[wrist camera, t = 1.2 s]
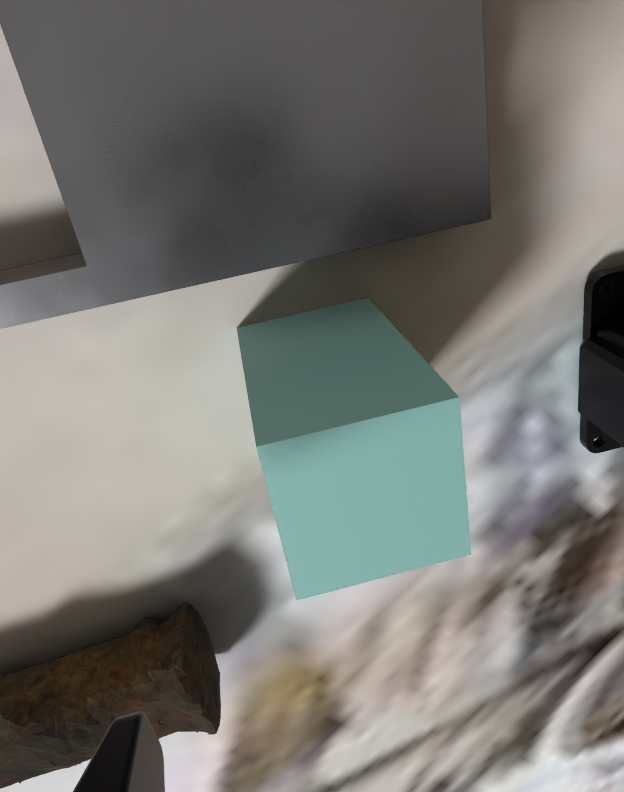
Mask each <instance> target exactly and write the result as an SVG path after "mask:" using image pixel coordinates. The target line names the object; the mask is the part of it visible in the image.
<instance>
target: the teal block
mask: <svg viewBox="0 0 624 792" xmlns="http://www.w3.org/2000/svg"><path fill="white" fill-rule="evenodd" d="M237 332H238V338H239V345H240V351H241V357H242V363H243V369H244V375H245V381H246V387H247V393H248V399H249V405H250V411H251V417H252V423H253V429H254V435H255V441H256V447H257V451H258V455H259V459H260V462H261V466H262V470H263V474H264V478H265V481H266V485H267V489H268V493H269V497H270V500H271V504H272V508H273V512H274V516H275V520H276V523H277V527H278V531H279V535H280V539H281V542H282V546H283V550H284V554H285V558H286V561H287V565H288V569H289V573H290V577H291V581H292V584H293V588H294V592H295V596H296V600H300V599H304V598H307V597H311V596H315V595H319V594H322V593H326V592H330V591H334V590H338V589H341V588H345V587H349V586H353V585H356V584H360V583H364V582H368V581H372V580H375V579H379V578H383V577H387V576H391V575H394V574H398V573H402V572H406V571H409V570H413V569H417V568H421V567H425V566H428V565H432V564H436V563H440V562H443V561H447V560H451V559H455V558H459V557H462V556H466V555H470V554H471V547H470V534H469V521H468V507H467V494H466V481H465V468H464V455H463V441H462V428H461V415H460V402H459V397H458V395H457V394H456V393H455V392H454V391H453V390H452V389H451V388H450V387H449V386H448V384H447V383H446V382H445V381H444V380H443V379H442V378H441V377H440V376H439V375H438V373H437V372H436V371H435V370H434V369H433V368H432V367H431V366H430V365H429V364H428V363H427V361H426V360H425V359H424V358H423V357H422V356H421V355H420V354H419V353H418V352H417V350H416V349H415V348H414V347H413V346H412V345H411V344H410V343H409V342H408V341H407V339H406V338H405V337H404V336H403V335H402V334H401V333H400V332H399V331H398V330H397V328H396V327H395V326H394V325H393V324H392V323H391V322H390V321H389V320H388V319H387V318H386V316H385V315H384V314H383V313H382V312H381V311H380V310H379V309H378V308H377V307H376V305H375V304H374V303H373V302H372V301H371V300H370V299H369V298H364V299H359V300H355V301H351V302H346V303H342V304H337V305H333V306H329V307H324V308H320V309H316V310H311V311H307V312H303V313H298V314H294V315H290V316H285V317H281V318H277V319H272V320H268V321H263V322H259V323H255V324H250V325H246V326H242V327H237Z"/></svg>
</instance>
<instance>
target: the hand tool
mask: <svg viewBox="0 0 624 792" xmlns="http://www.w3.org/2000/svg"><path fill="white" fill-rule="evenodd" d="M135 712H144V713H145V714H146V716H147V717H148V719H149V721H150V723H151V726H152V728H153V730H154V732H155V734H156V736H157V738H158V739H159V738H161V737H163V736H167V735H169V734H172V733H174V732H187V731H195V732H199V731H201V732H207V733H208V734H216V733H217V730H218V727H219V725H220V718H221V701H220V672H219V669H218V665H217V662H216V658H215V653H214V649H213V647H212V645H211V643H210V639H209V636H208V633H207V630H206V627H205V625H204V623H203V621H202V619H201V618H200V616H199V614H198V613H197V612H196V611H195V610H194V609H193V607H192V606H191V605H190V604H186V603H183V604H182V605H181V606H180V607H179V608H178V609H177V610H176V611H175V613H174V614H173V615H172V617H171V618H170V619H169V620H167V621H161V620H157V619H153V618H148V617H144V618H143V619H142V620H141V621H140V622H139V623H138V625H137V627H136V629H135V630H134V631H132V632H131V633H129V634H127V635H125V636H123V637H120V638H117V639H115V640H111V641H108V642H104V643H101V644H98V645H94V646H91V647H88V648H85V649H82V650H79V651H76V652H74V653H72V654H69V655H67V656H63V657H60V658H57V659H54V660H51V661H48V662H45V663H42V664H39V665H36V666H33V667H30V668H26V669H23V670H20V671H17V672H11V673H6V674H3V673H0V788H3V787H6V786H10V785H12V784H15V783H17V782H19V783H21V782H22V781H24V780H27V779H30V778H32V777H35V776H39V775H42V774H45V773H48V772H52V771H55V770H58V769H63V768H69V767H71V766H74V765H77V764H80V763H82V762H84V761H87V760H89V759H91V758H92V757H93V755H94V754H95V752H96V750H97V748H98V746H99V745H100V743H101V741H102V739H103V738H104V736H105V734H106V732H107V731H108V729H109V727H110V725H111V724H112V722H113V721H114V720H115V719H116V718H118V717H120V716H124V715H128V714H131V713H135Z"/></svg>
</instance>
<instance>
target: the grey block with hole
mask: <svg viewBox="0 0 624 792" xmlns="http://www.w3.org/2000/svg"><path fill="white" fill-rule="evenodd" d="M0 24H1V27H2V30H3V33H4V35H5V38H6V41H7V44H8V47H9V49H10V52H11V55H12V58H13V61H14V63H15V66H16V69H17V72H18V75H19V77H20V80H21V83H22V86H23V89H24V91H25V94H26V97H27V100H28V103H29V105H30V108H31V111H32V114H33V117H34V119H35V122H36V125H37V128H38V131H39V133H40V136H41V139H42V142H43V145H44V147H45V150H46V153H47V156H48V159H49V161H50V164H51V167H52V170H53V173H54V175H55V178H56V181H57V184H58V186H59V189H60V192H61V195H62V198H63V200H64V203H65V206H66V209H67V212H68V214H69V217H70V220H71V223H72V226H73V228H74V231H75V234H76V237H77V240H78V242H79V245H80V248H81V251H82V253H79V254H75V255H70V256H65V257H61V258H56V259H52V260H47V261H42V262H38V263H33V264H29V265H24V266H19V267H15V268H10V269H5V270H1V271H0V329H2V328H6V327H11V326H15V325H20V324H24V323H29V322H33V321H38V320H42V319H47V318H51V317H55V316H60V315H64V314H69V313H73V312H78V311H82V310H87V309H91V308H96V307H100V306H105V305H109V304H114V303H118V302H123V301H127V300H131V299H136V298H140V297H145V296H149V295H154V294H158V293H163V292H167V291H172V290H176V289H181V288H185V287H190V286H194V285H199V284H203V283H208V282H212V281H216V280H221V279H225V278H230V277H234V276H239V275H243V274H248V273H252V272H257V271H261V270H266V269H270V268H275V267H279V266H284V265H288V264H293V263H297V262H301V261H306V260H310V259H315V258H319V257H324V256H328V255H333V254H337V253H342V252H346V251H351V250H355V249H360V248H364V247H369V246H373V245H378V244H382V243H386V242H391V241H395V240H400V239H404V238H409V237H413V236H418V235H422V234H427V233H431V232H436V231H440V230H445V229H449V228H454V227H458V226H462V225H467V224H471V223H476V222H480V221H485V220H489V219H491V209H490V185H489V161H488V137H487V113H486V89H485V65H484V41H483V17H482V0H0Z"/></svg>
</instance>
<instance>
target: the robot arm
mask: <svg viewBox="0 0 624 792" xmlns="http://www.w3.org/2000/svg"><path fill="white" fill-rule="evenodd" d="M606 282H607V287H606V289H605V290H604V292H602V293H599V291H600V287H601V286H602V285H603V284H604V283H606ZM578 411H579V413H581V417H580V442H581V444H582V445H583V446H584V447H585V448H586V449H587V450H589V451H590V452H592V453H600V452H604V451H608V450H612V449H616V448H620V447H624V265H622V266H618V267H614V268H610V269H605V270H601V271H598V272H596V273H594V274H593V275H592V276H591V277H589V279H588V281H587V282H586V284H585V289H584V317H583V342H582V344H581V346H580V357H579V393H578ZM598 435H599V437H598V438H597V440H595V441H594V439H595V437H596V436H598ZM73 792H165V785H164V759H163V752H162V748H161V745H160V742H159V740H158V738H157V736H156V734H155V732H154V730H153V728H152V726H151V723H150V721H149V719H148V717H147V716H146V714H145V713H144V712H135V713H131V714H128V715H124V716H120V717H118V718H116V719H115V720H114V721H113V722H112V724H111V725H110V727H109V729H108V731H107V732H106V734H105V736H104V738H103V739H102V741H101V743H100V745H99V746H98V748H97V750H96V752H95V754H94V755H93V757H92V759H91V761H90V762H89V764H88V766H87V768H86V769H85V771H84V773H83V775H82V777H81V778H80V780H79V782H78V784H77V785H76V787H75V789H74V791H73Z"/></svg>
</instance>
